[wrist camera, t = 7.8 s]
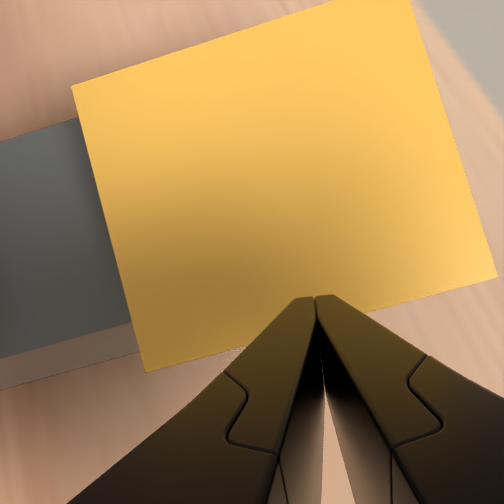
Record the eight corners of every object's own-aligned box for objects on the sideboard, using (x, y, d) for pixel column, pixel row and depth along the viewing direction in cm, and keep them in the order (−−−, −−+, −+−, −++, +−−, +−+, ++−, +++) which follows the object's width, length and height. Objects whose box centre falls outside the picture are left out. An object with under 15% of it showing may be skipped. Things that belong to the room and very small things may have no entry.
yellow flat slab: (481, 276, 15) (498, 277, 14) (156, 365, 16) (145, 373, 15) (393, 0, 16) (402, -22, 14) (86, 99, 16) (71, 86, 15)
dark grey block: (426, 272, 22) (484, 215, 14) (-128, 425, 24) (-340, 448, 16) (367, 117, 24) (388, -2, 17) (-127, 267, 26) (-309, 223, 19)
